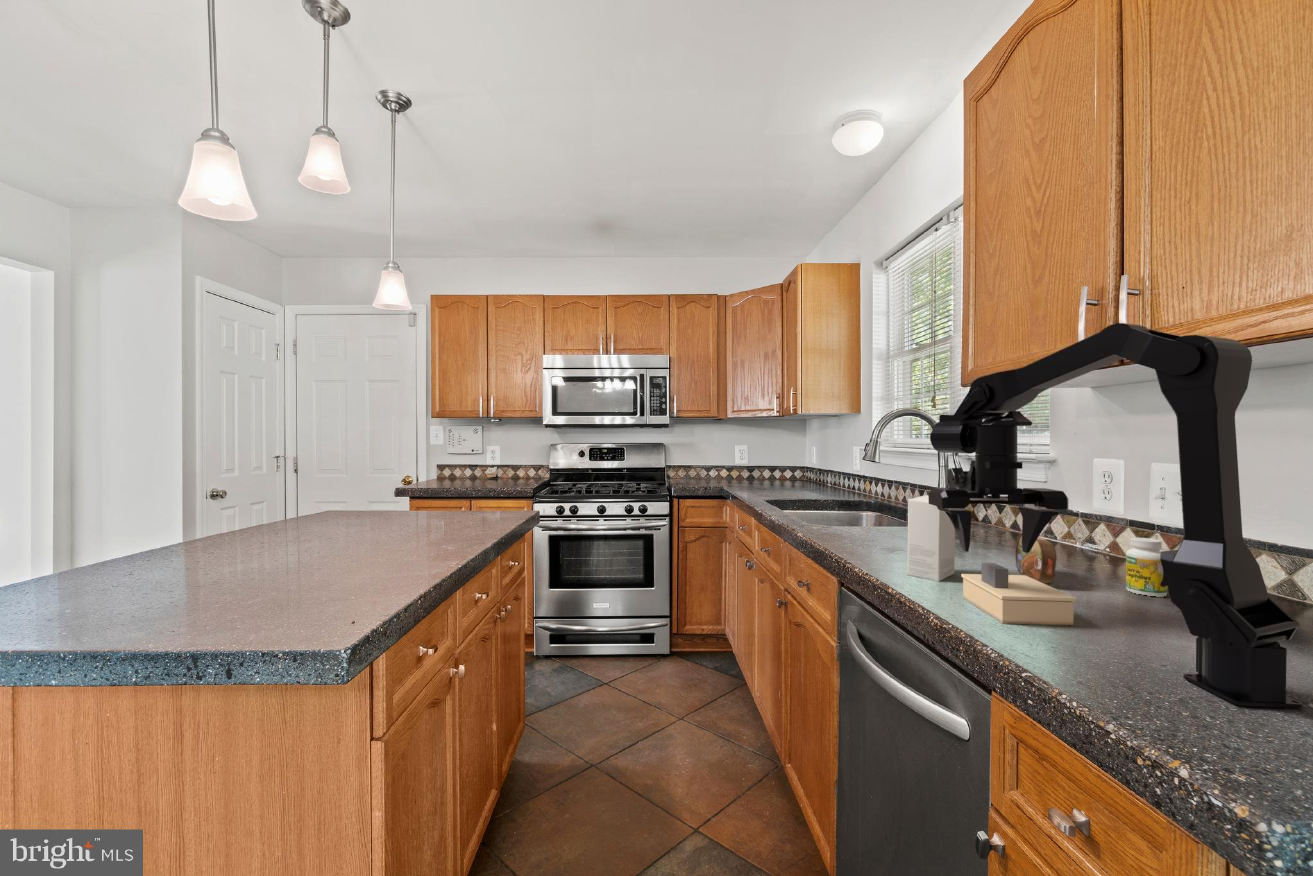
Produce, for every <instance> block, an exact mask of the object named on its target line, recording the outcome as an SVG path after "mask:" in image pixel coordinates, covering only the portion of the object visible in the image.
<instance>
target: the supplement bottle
mask: <svg viewBox="0 0 1313 876" xmlns="http://www.w3.org/2000/svg"><path fill="white" fill-rule="evenodd" d="M1130 545H1131V547H1132V548H1130V549H1127V551H1126V553H1125V558H1126V559H1125V560H1126V561H1125V566H1126V567H1125V570H1126V571H1125V583H1126V584H1125V587H1126V590H1127V591H1128V592H1129V591H1130V592H1129V593H1131V592H1132V593H1131V594H1134V593H1136V594H1135V595H1138V594H1142V595H1141V596H1143V595H1147V596H1146V597H1150V596H1156V597H1155V598H1164V596H1165V597H1166V596H1167V595H1168V592H1167V586H1166V587H1161V586H1160V583H1161V581H1162V579H1163V568H1162V564H1161V560H1160V554H1161V552H1162V551H1160V550H1162V548H1163V547H1162V541H1161V540H1160V539H1156V538H1155V539H1154V538H1148V537H1131V538H1130Z"/></svg>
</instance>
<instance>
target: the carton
mask: <svg viewBox="0 0 1313 876" xmlns="http://www.w3.org/2000/svg"><path fill="white" fill-rule="evenodd" d="M962 578H963V577H962ZM962 584H963V585H962V587H963V588H962V598H963V600H964V601H966V602H968V603H969V604H971V605H973V606H974V607H975V608H977V609H978V610H980V611H982V612H984V613H985V614H987V615H988V616H990V617H991V618H993V619H994V620H996V621H998V622H999V623H1001V624H1004V625H1005V624H1006V625H1007V624H1008V625H1034V626H1035V625H1039V626H1041V625H1044V626H1068V625H1072V626H1074V610H1075V609H1074V608H1075V607H1074V602H1075V601H1044V600H1005V599H1000V598H999V597H997V596H995V595H993V594H991V593H990V592H988V591H986V590H984V589H982V588H981V587H979V586H977V585H975V584H974V583H972V582H970V581H968V580H966V579H965V578H963V579H962Z"/></svg>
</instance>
